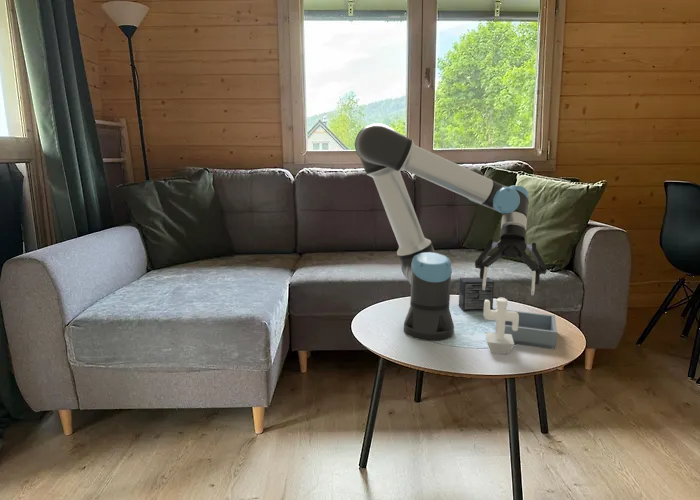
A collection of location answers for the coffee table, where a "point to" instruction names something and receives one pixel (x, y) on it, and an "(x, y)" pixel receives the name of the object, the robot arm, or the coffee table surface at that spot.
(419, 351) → the coffee table surface
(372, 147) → the robot arm
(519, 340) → the tray
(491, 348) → the figurine
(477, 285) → the small box
